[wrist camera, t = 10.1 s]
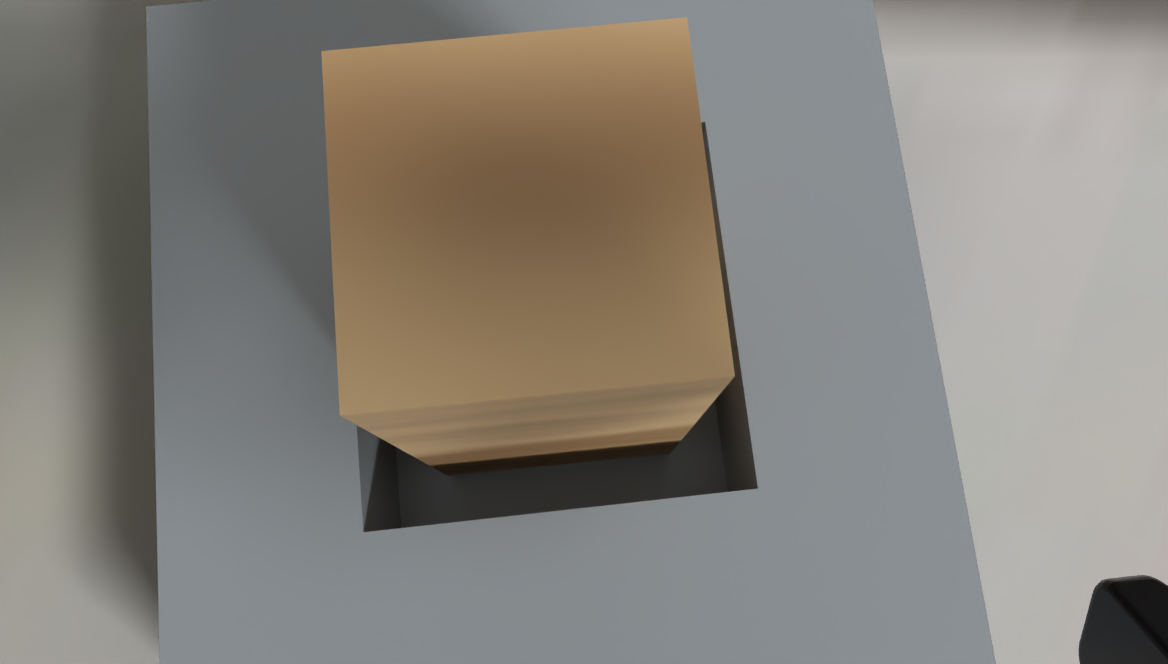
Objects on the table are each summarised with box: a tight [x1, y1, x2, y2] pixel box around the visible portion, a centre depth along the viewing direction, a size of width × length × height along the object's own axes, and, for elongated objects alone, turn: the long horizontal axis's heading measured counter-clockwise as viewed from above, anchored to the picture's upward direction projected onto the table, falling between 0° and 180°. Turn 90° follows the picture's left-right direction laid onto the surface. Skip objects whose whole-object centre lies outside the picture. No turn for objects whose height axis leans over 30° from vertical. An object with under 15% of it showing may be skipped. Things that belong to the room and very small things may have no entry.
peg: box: [321, 17, 735, 476], centre depth 16 cm, size 4×4×9 cm
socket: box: [146, 0, 996, 664], centre depth 19 cm, size 13×13×4 cm
